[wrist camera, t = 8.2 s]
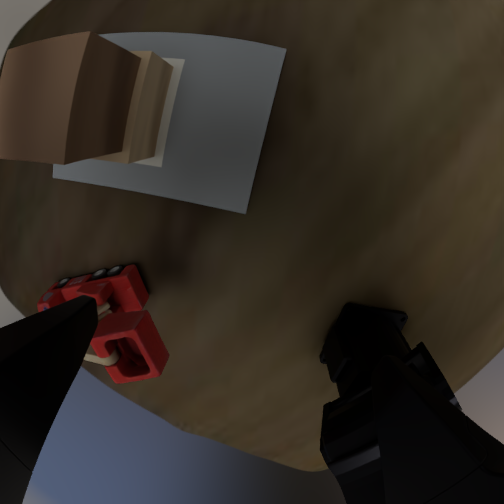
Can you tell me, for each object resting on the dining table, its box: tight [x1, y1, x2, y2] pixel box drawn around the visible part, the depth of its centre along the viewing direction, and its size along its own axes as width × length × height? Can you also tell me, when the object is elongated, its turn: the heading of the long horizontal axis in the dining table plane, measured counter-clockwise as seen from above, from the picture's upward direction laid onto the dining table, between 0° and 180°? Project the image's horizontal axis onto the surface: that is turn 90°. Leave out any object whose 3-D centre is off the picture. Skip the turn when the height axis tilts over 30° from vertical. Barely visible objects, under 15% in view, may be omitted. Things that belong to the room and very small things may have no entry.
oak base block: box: [90, 51, 174, 164], centre depth 13 cm, size 6×6×4 cm
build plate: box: [53, 32, 287, 214], centre depth 16 cm, size 15×11×1 cm
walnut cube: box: [0, 31, 141, 165], centre depth 9 cm, size 5×5×5 cm
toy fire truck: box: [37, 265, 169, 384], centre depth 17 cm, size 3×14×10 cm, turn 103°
